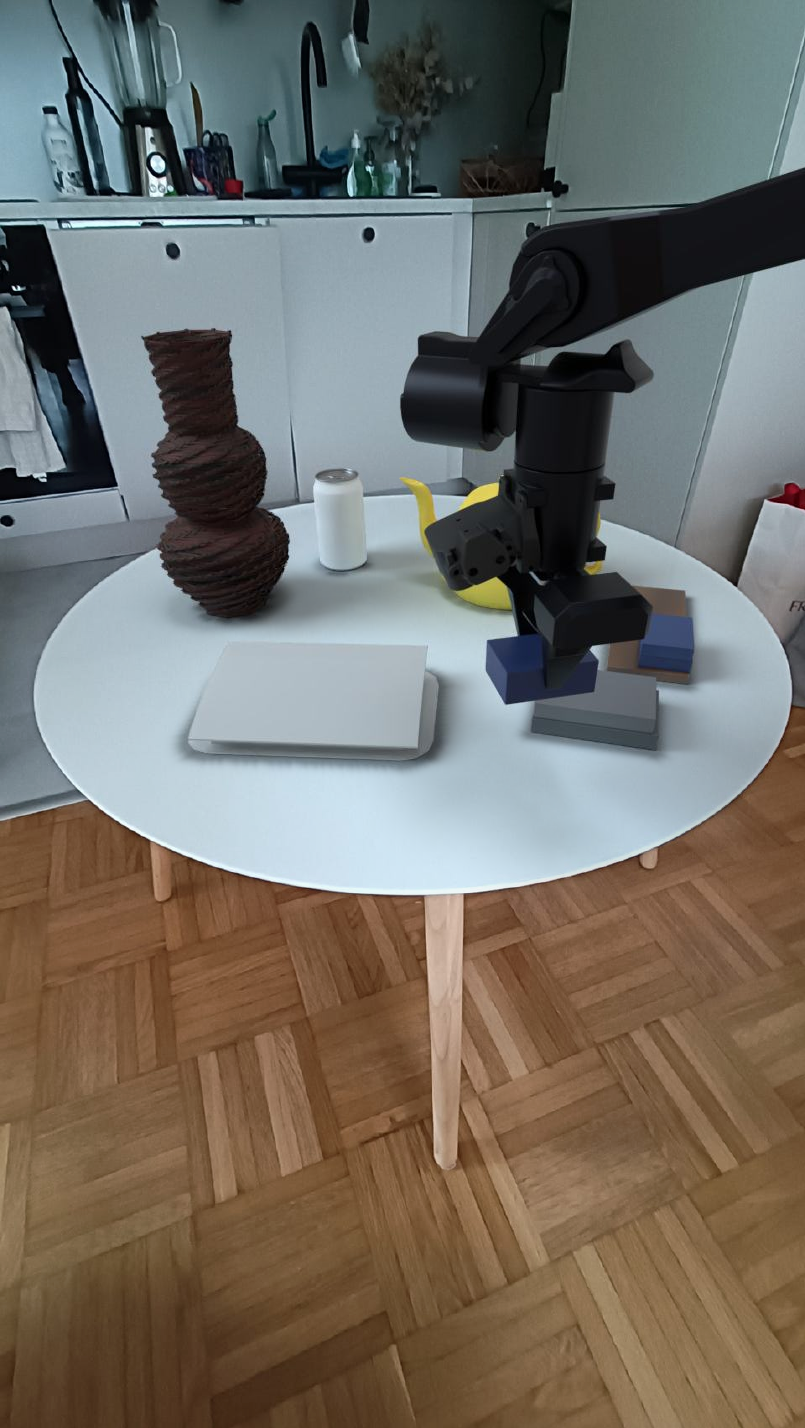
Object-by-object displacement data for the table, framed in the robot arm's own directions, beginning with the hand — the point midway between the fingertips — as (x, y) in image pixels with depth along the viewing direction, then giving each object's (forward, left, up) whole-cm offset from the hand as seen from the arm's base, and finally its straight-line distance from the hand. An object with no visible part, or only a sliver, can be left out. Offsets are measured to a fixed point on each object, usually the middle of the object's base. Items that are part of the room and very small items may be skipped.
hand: (539, 669), depth 55 cm
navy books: (-11, -22, -11) cm, 27 cm away
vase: (+40, -24, -11) cm, 48 cm away
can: (+31, -39, -11) cm, 51 cm away
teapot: (+9, -37, -11) cm, 40 cm away
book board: (-9, -28, -11) cm, 32 cm away
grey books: (-5, -10, -11) cm, 16 cm away
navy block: (0, 0, -1) cm, 1 cm away
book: (+21, -5, -11) cm, 25 cm away
